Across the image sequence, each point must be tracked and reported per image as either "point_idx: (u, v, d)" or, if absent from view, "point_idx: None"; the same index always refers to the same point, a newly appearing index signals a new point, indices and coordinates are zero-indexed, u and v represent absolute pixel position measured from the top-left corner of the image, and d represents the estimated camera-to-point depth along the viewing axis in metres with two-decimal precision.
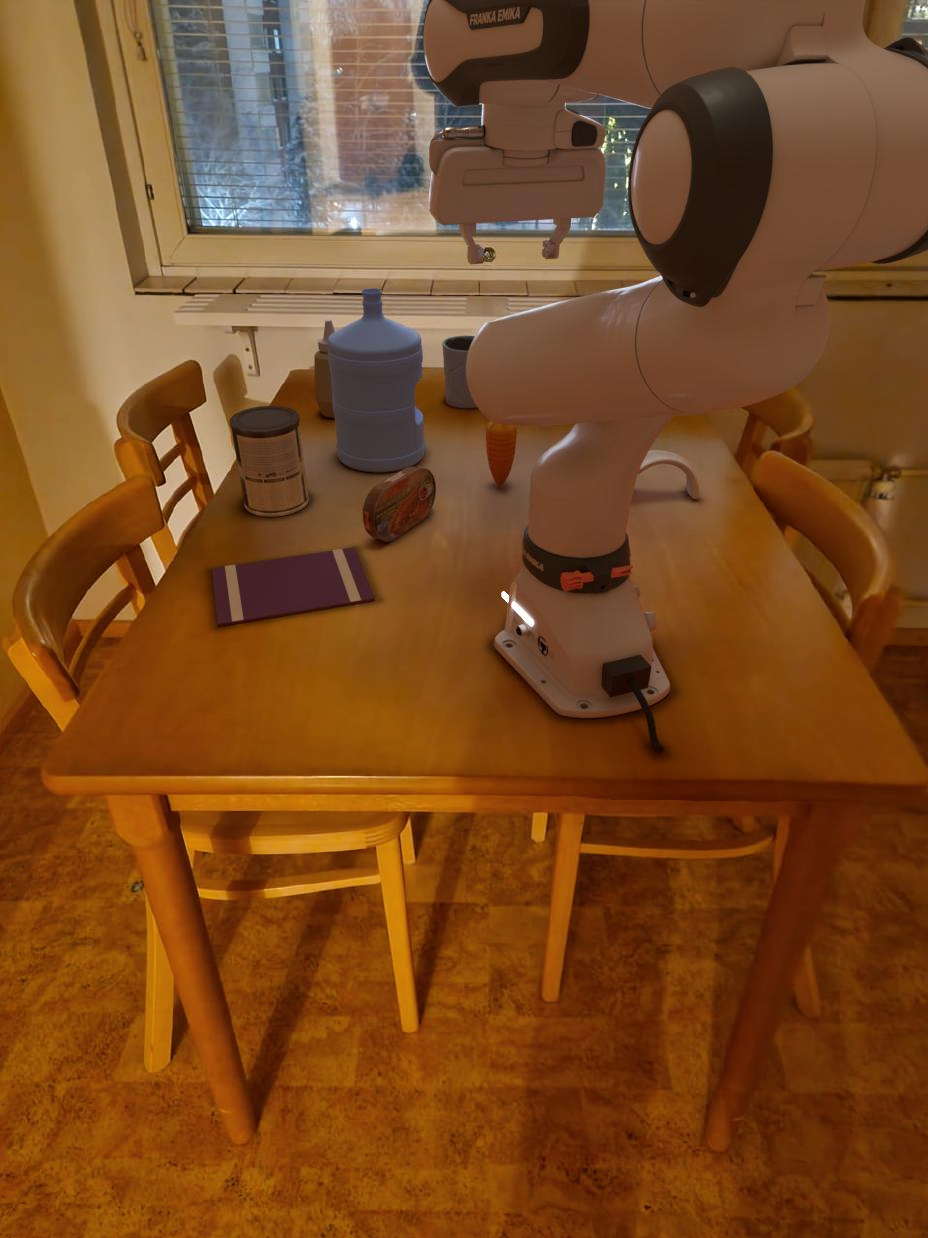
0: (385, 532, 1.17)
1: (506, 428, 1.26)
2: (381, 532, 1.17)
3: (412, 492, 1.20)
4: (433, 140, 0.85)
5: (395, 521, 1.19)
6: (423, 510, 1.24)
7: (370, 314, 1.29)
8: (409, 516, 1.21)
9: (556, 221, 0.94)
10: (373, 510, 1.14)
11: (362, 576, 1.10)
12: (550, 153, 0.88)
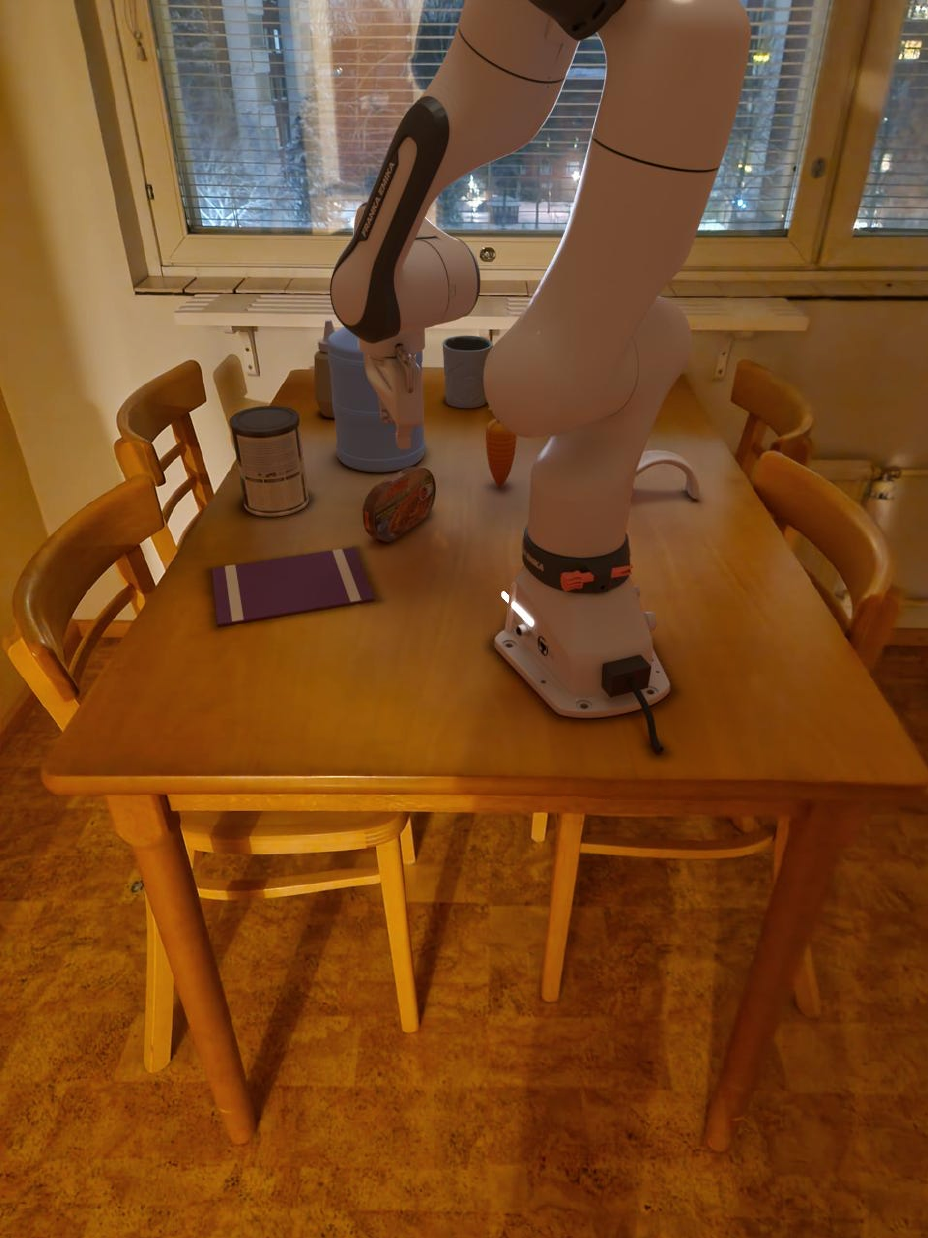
0: (385, 532, 1.17)
1: None
2: (381, 532, 1.17)
3: (412, 492, 1.20)
4: (413, 367, 0.99)
5: (395, 521, 1.19)
6: (423, 510, 1.24)
7: None
8: (409, 517, 1.21)
9: None
10: (373, 510, 1.14)
11: (362, 576, 1.10)
12: None
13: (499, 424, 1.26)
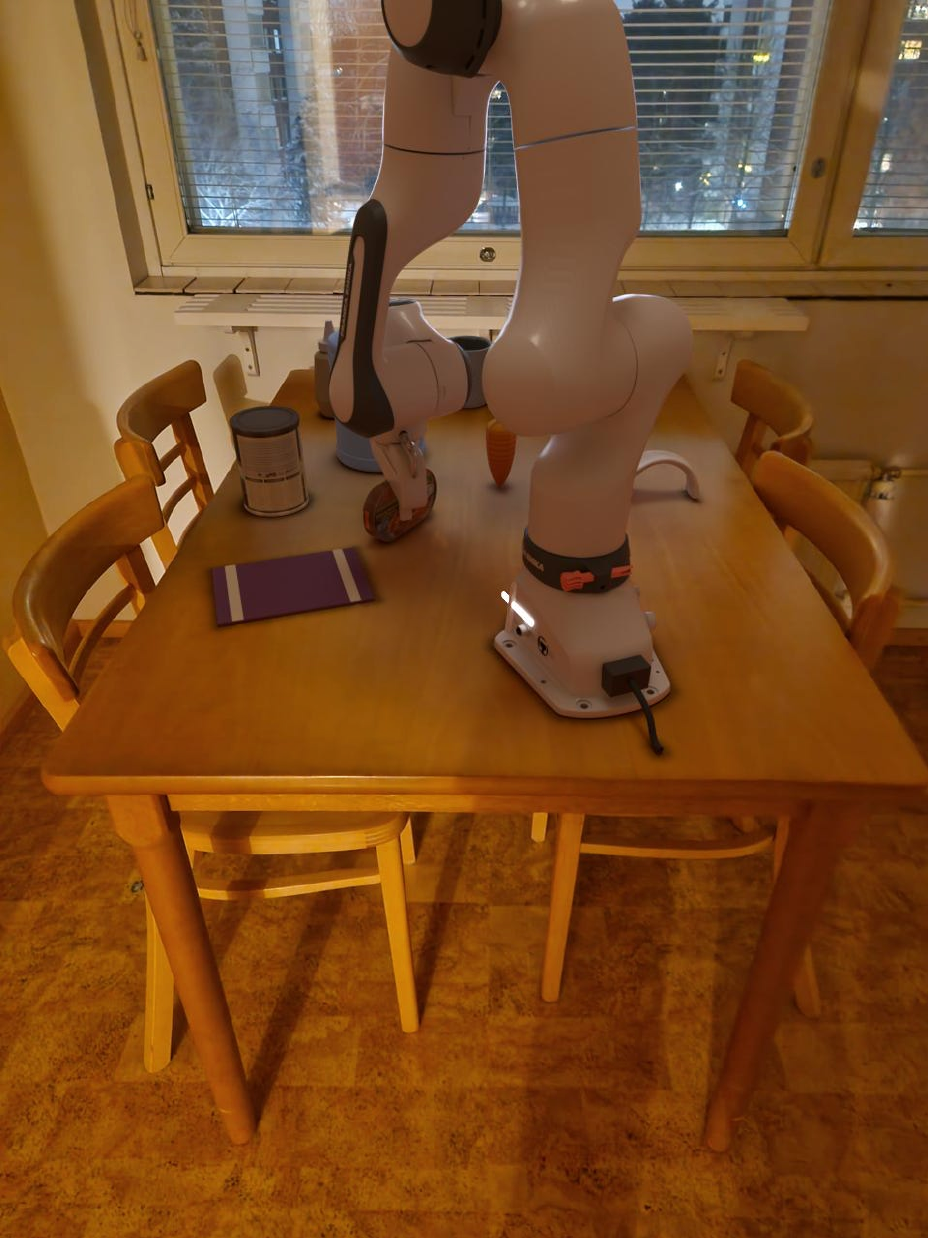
0: (385, 532, 1.17)
1: None
2: (381, 532, 1.17)
3: None
4: (416, 455, 1.06)
5: (395, 521, 1.19)
6: (423, 510, 1.24)
7: None
8: None
9: None
10: (373, 510, 1.14)
11: (362, 576, 1.10)
12: None
13: (499, 424, 1.26)
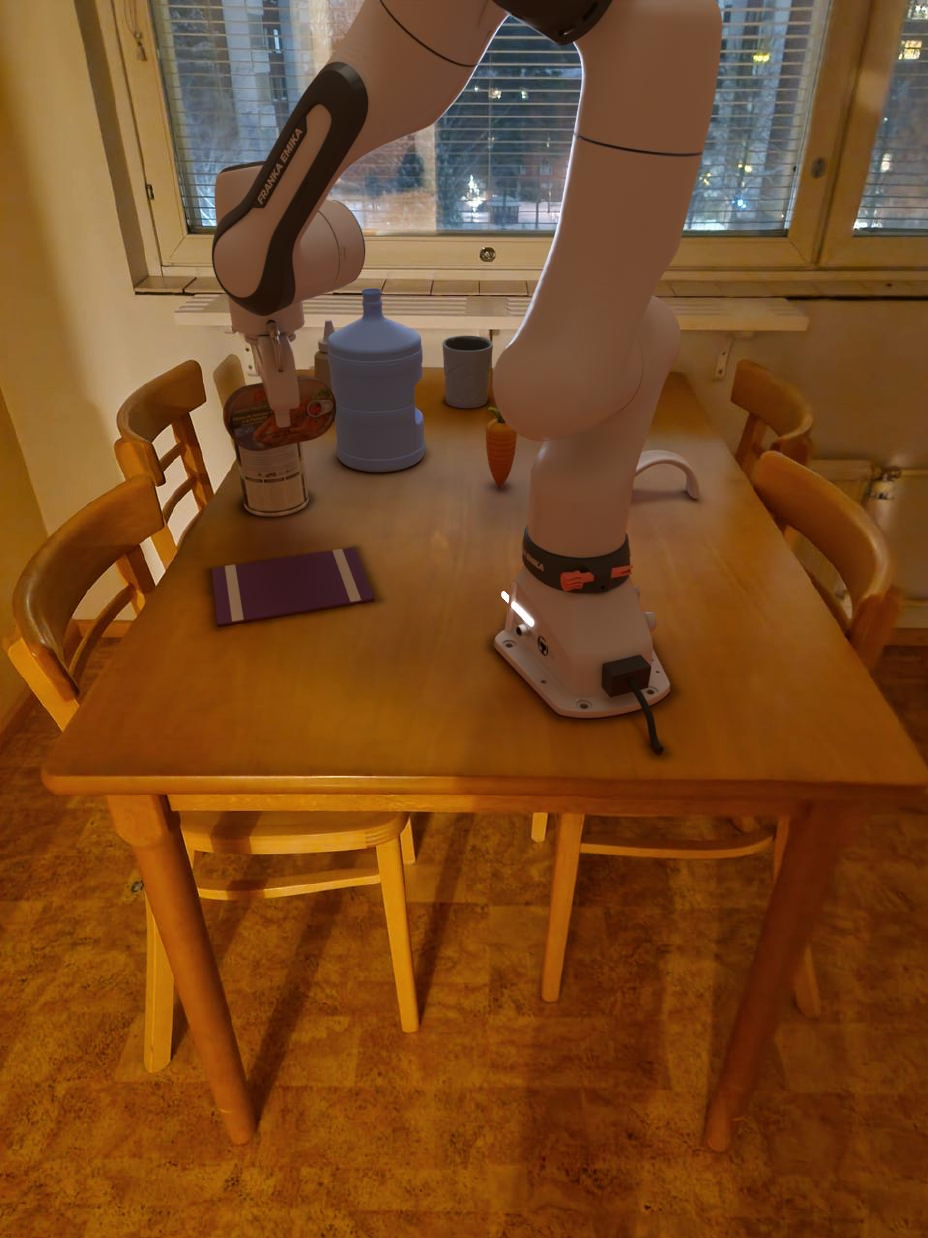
0: (248, 439, 1.05)
1: (506, 428, 1.26)
2: (241, 438, 1.05)
3: None
4: (280, 343, 0.92)
5: (266, 430, 1.06)
6: (315, 429, 1.10)
7: (370, 314, 1.29)
8: (290, 431, 1.08)
9: None
10: (228, 410, 1.02)
11: (362, 576, 1.10)
12: None
13: (499, 424, 1.26)
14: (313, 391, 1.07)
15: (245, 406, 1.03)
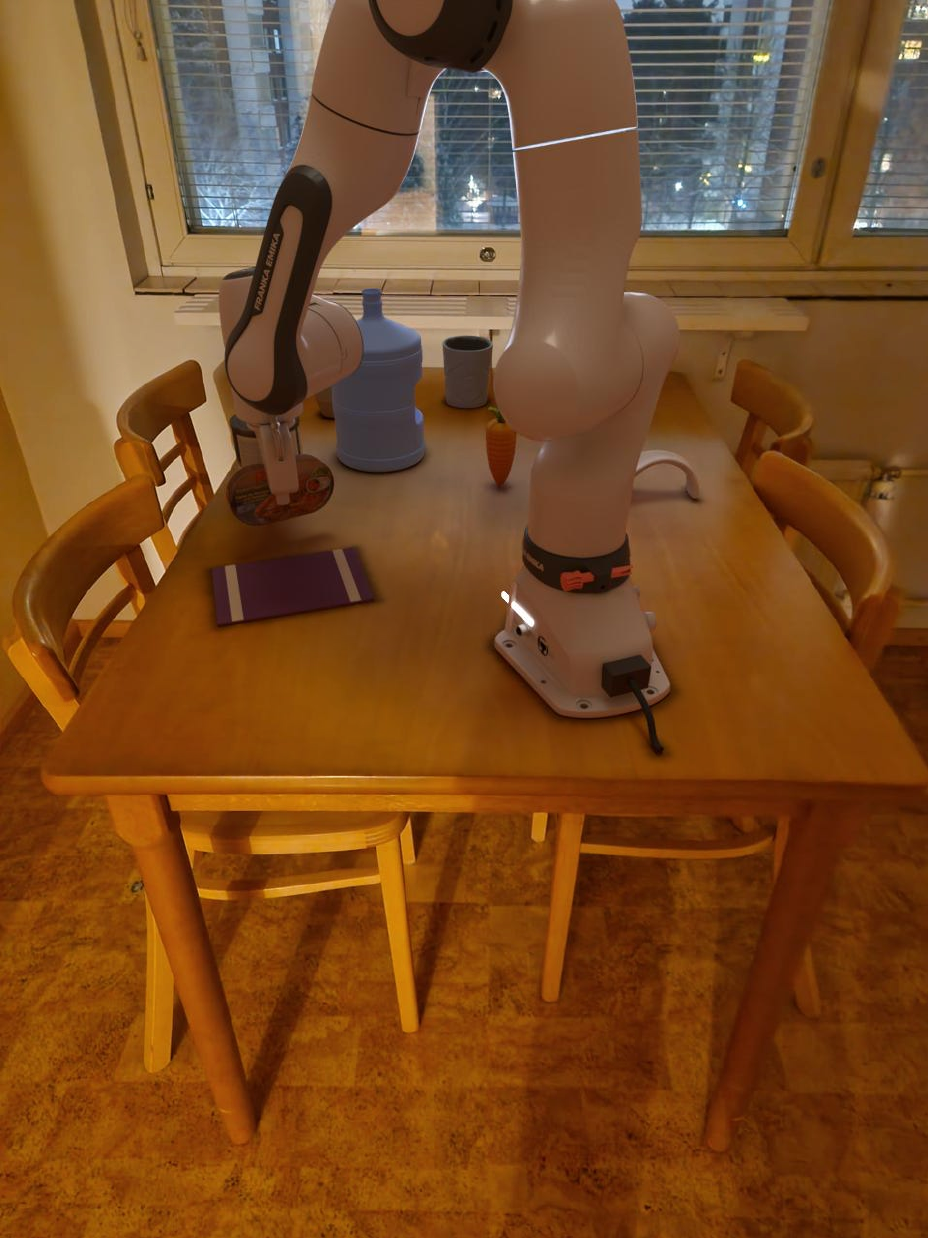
0: (250, 515, 1.11)
1: (506, 428, 1.26)
2: (243, 514, 1.11)
3: None
4: (280, 436, 0.98)
5: (266, 507, 1.12)
6: (313, 503, 1.16)
7: (370, 314, 1.29)
8: (290, 506, 1.14)
9: None
10: (231, 490, 1.08)
11: (362, 576, 1.10)
12: None
13: (499, 424, 1.27)
14: (312, 469, 1.13)
15: (247, 486, 1.09)
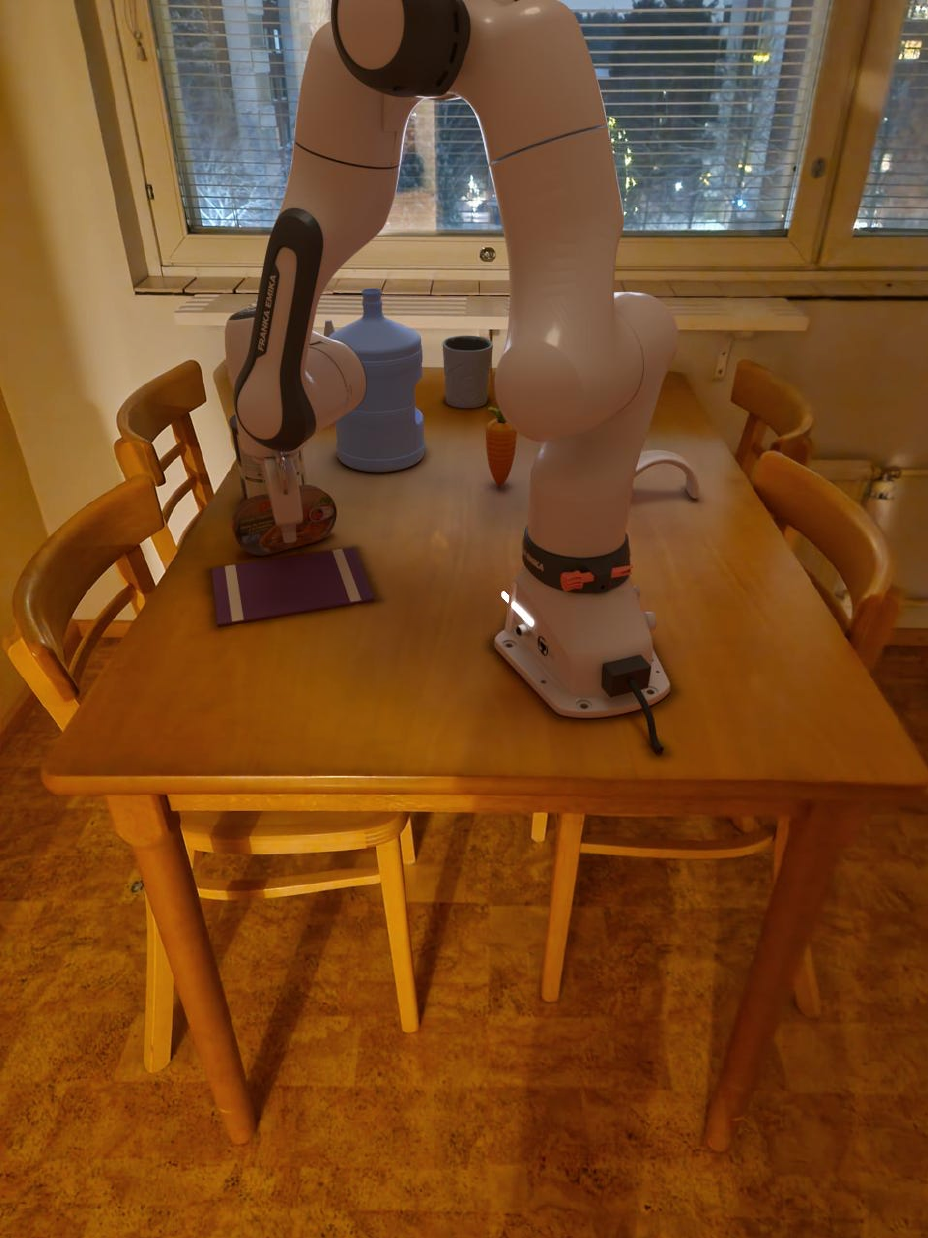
0: (255, 545, 1.14)
1: (506, 428, 1.26)
2: (248, 544, 1.14)
3: None
4: (285, 470, 1.01)
5: (271, 536, 1.15)
6: (317, 532, 1.18)
7: (370, 314, 1.29)
8: None
9: None
10: (236, 520, 1.11)
11: (362, 576, 1.10)
12: None
13: (499, 424, 1.26)
14: (314, 499, 1.16)
15: (251, 516, 1.12)
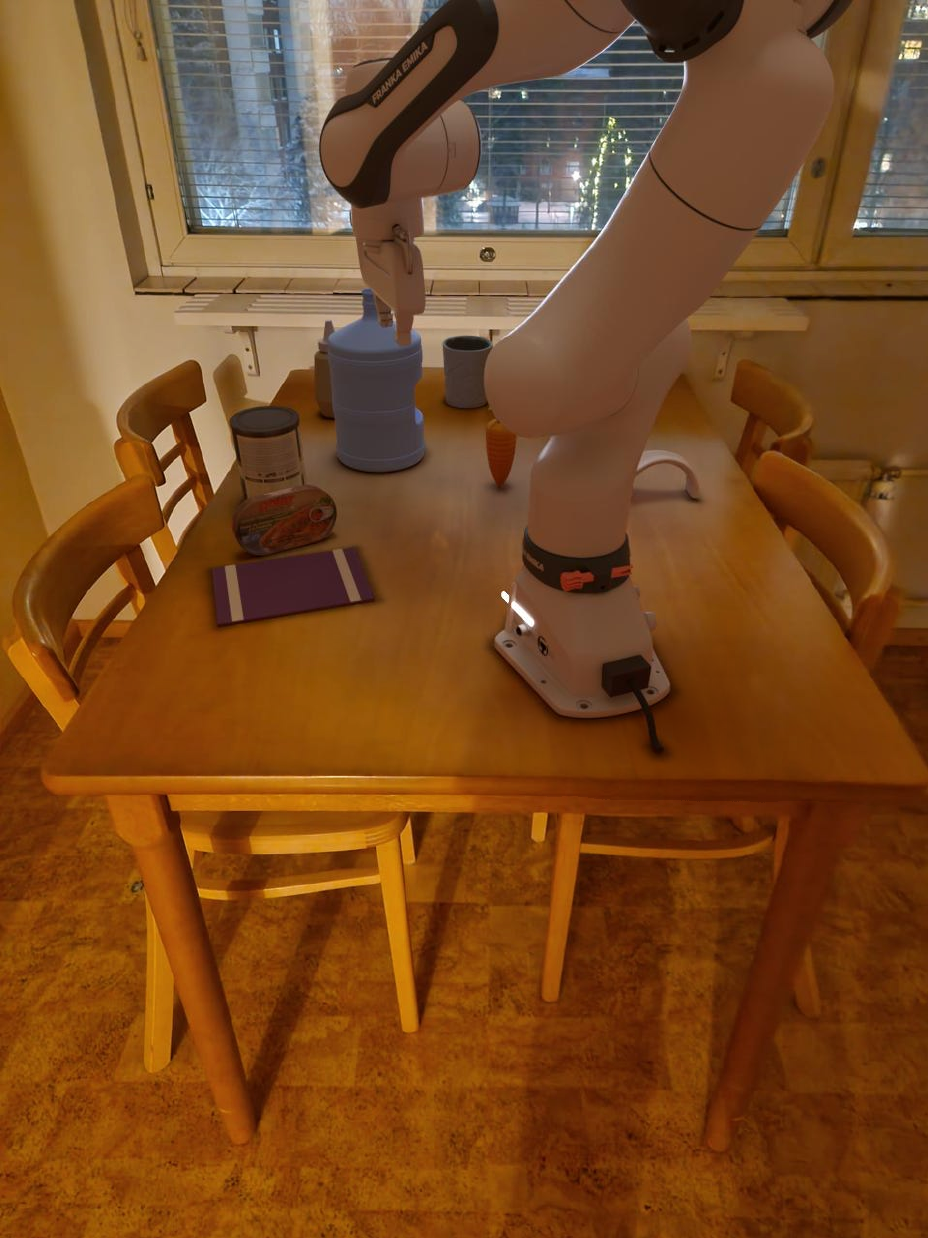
0: (255, 545, 1.14)
1: None
2: (248, 544, 1.14)
3: (300, 511, 1.15)
4: (412, 243, 0.92)
5: (271, 536, 1.15)
6: (317, 532, 1.18)
7: (370, 314, 1.29)
8: (294, 535, 1.17)
9: None
10: (236, 520, 1.11)
11: (362, 576, 1.10)
12: None
13: (499, 424, 1.26)
14: (314, 499, 1.16)
15: (251, 516, 1.12)
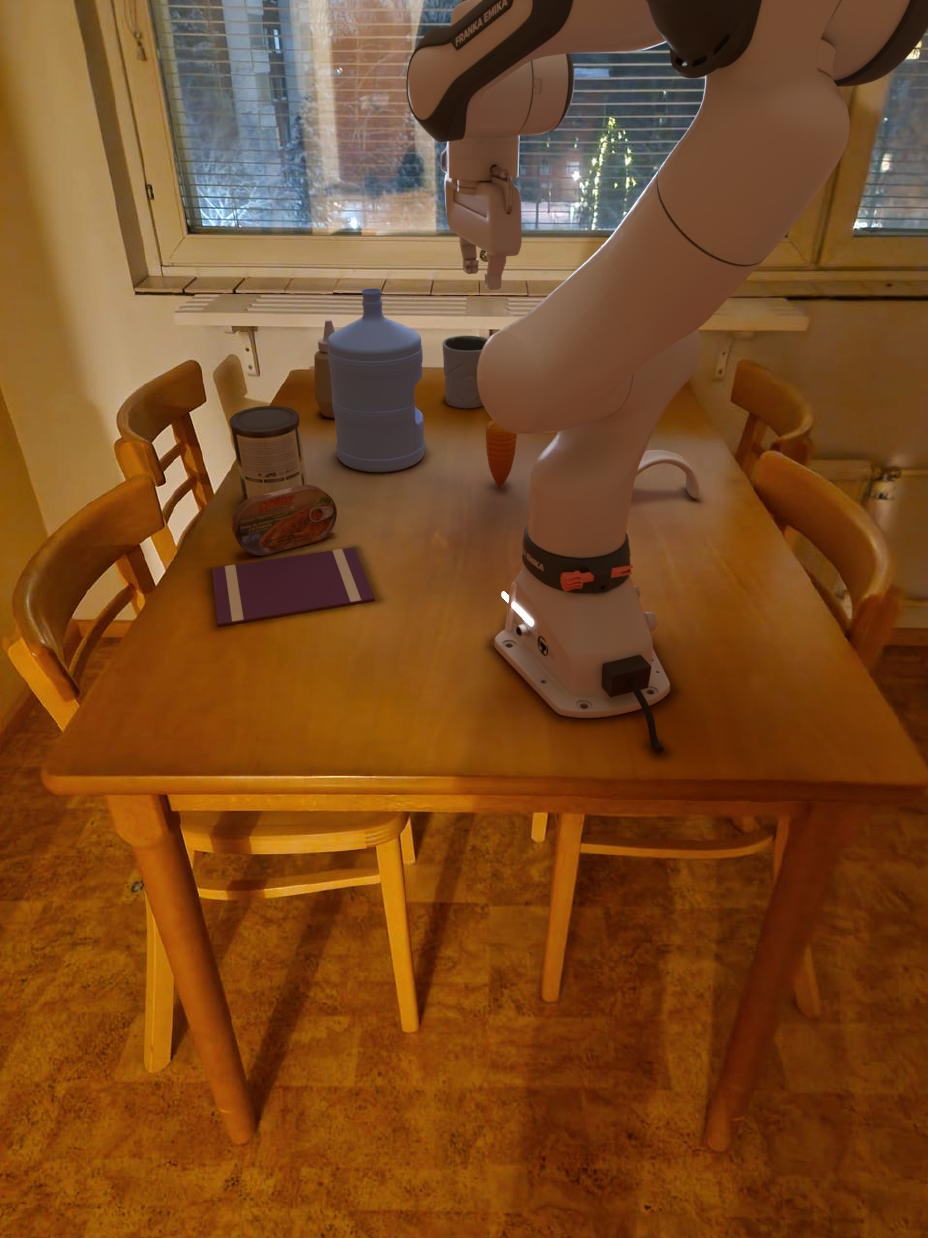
0: (255, 545, 1.14)
1: None
2: (248, 544, 1.14)
3: (300, 511, 1.15)
4: None
5: (271, 536, 1.15)
6: (317, 532, 1.18)
7: (370, 314, 1.29)
8: (294, 535, 1.17)
9: (469, 240, 1.09)
10: (236, 520, 1.11)
11: (362, 576, 1.10)
12: None
13: None
14: (314, 499, 1.16)
15: (251, 516, 1.12)
